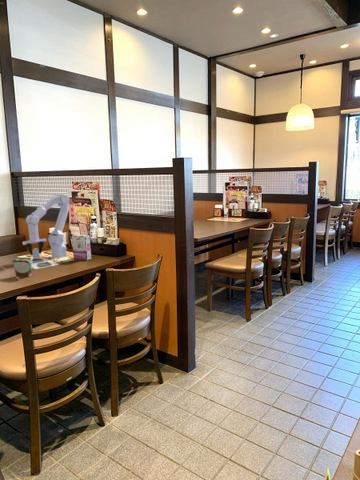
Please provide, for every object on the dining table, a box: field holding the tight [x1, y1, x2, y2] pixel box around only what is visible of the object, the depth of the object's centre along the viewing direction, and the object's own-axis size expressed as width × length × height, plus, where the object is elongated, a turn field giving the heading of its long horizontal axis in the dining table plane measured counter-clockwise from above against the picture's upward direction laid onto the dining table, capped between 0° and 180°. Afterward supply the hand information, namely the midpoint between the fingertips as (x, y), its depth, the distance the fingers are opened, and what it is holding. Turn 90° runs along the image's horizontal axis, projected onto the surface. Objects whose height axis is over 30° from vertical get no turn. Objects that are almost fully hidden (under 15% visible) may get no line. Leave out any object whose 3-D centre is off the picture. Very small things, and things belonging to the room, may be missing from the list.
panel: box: [31, 257, 60, 270], centre depth 225 cm, size 15×24×2 cm, turn 41°
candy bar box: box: [71, 234, 92, 261], centre depth 233 cm, size 11×5×16 cm, turn 68°
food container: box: [12, 256, 33, 278], centre depth 200 cm, size 12×6×10 cm, turn 71°
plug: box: [32, 247, 41, 259], centre depth 229 cm, size 4×4×7 cm
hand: (35, 254), depth 229 cm, fingers closed on plug, 5 cm apart
